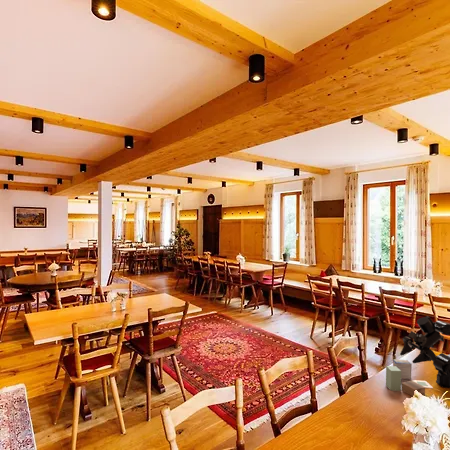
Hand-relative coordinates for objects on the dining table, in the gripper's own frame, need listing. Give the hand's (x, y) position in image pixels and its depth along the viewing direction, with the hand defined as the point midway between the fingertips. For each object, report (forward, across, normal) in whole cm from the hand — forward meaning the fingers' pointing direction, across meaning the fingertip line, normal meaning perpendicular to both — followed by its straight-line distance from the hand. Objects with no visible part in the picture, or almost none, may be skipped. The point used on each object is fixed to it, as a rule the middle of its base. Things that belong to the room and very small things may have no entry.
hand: (406, 358), depth 160 cm
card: (+1, -2, +18) cm, 18 cm away
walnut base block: (+9, +6, +11) cm, 16 cm away
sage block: (+15, +1, +7) cm, 16 cm away
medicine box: (+5, -10, +14) cm, 18 cm away
